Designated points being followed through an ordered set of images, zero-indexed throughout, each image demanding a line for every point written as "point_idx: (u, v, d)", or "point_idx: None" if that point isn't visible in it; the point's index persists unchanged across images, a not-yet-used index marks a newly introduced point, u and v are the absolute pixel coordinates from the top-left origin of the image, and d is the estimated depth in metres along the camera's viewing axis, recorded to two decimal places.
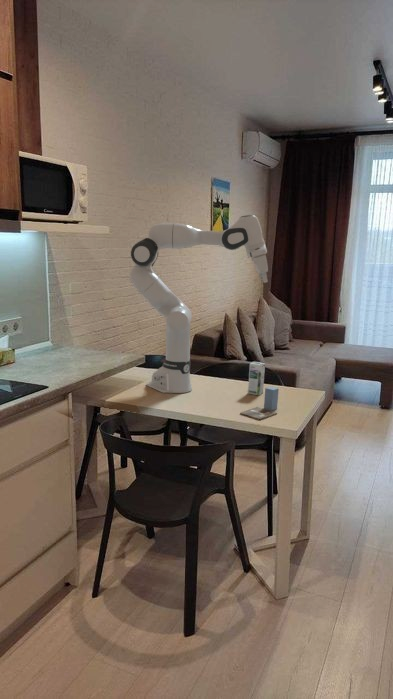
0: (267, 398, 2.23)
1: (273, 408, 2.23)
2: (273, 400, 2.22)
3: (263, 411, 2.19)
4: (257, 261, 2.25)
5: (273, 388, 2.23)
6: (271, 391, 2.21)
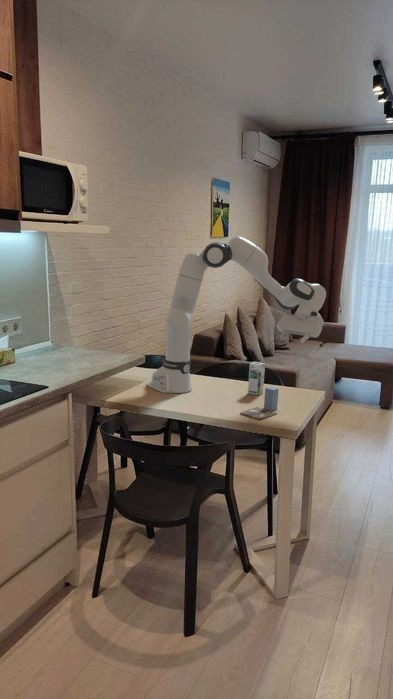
0: (267, 398, 2.23)
1: (273, 408, 2.23)
2: (273, 400, 2.22)
3: (263, 411, 2.19)
4: (319, 323, 2.24)
5: (273, 388, 2.23)
6: (271, 391, 2.21)
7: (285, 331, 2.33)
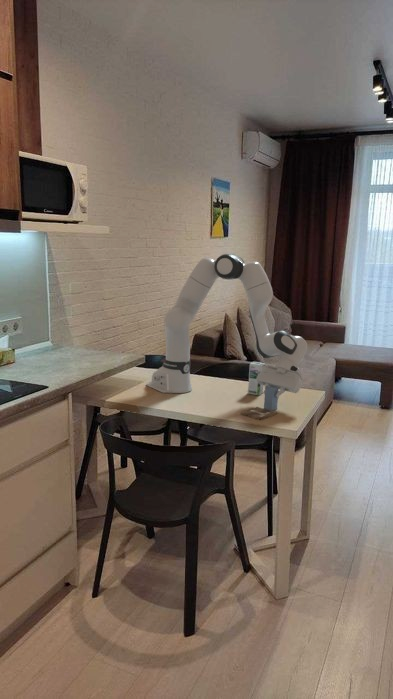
0: (267, 397, 2.23)
1: (273, 408, 2.23)
2: (273, 400, 2.22)
3: (263, 411, 2.19)
4: (299, 379, 2.20)
5: (273, 388, 2.23)
6: (271, 391, 2.21)
7: (269, 385, 2.27)
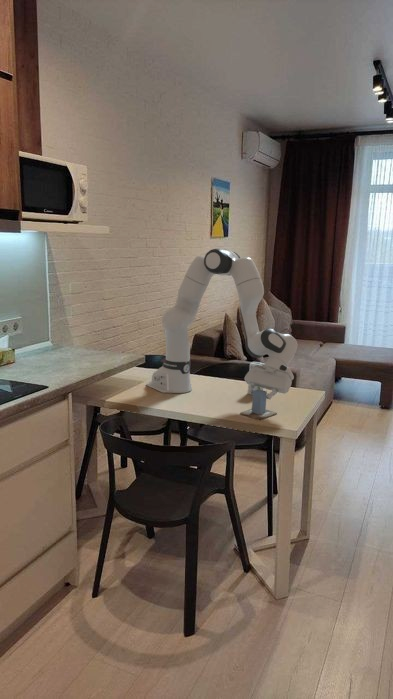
0: (254, 401, 2.15)
1: (261, 412, 2.15)
2: (261, 404, 2.14)
3: None
4: (288, 378, 2.12)
5: (261, 391, 2.15)
6: (259, 394, 2.13)
7: (254, 385, 2.20)
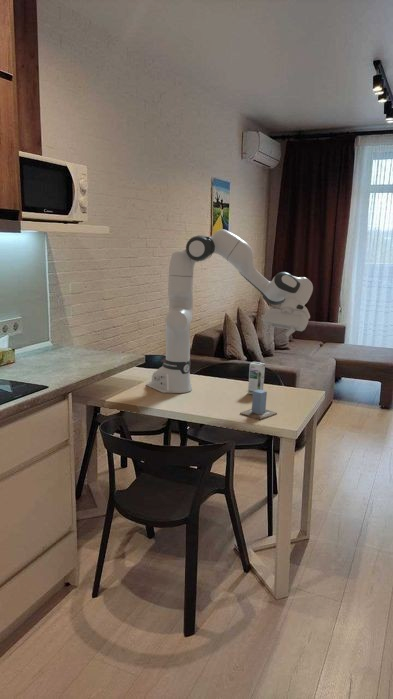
0: (254, 401, 2.15)
1: (261, 412, 2.15)
2: (261, 404, 2.14)
3: None
4: (305, 316, 2.19)
5: (261, 391, 2.15)
6: (259, 394, 2.13)
7: (270, 325, 2.28)
